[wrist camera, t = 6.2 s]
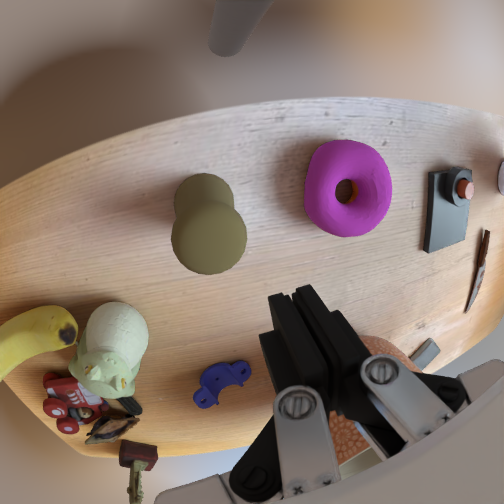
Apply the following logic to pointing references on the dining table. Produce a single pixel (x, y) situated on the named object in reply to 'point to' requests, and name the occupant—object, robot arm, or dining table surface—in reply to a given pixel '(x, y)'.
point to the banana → (35, 335)
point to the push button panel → (446, 209)
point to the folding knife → (130, 405)
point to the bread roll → (110, 428)
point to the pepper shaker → (207, 226)
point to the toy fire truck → (71, 403)
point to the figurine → (110, 351)
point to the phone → (425, 354)
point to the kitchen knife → (480, 268)
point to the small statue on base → (137, 465)
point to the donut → (363, 182)
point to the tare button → (465, 189)
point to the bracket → (219, 381)
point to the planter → (344, 431)
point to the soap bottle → (501, 179)
